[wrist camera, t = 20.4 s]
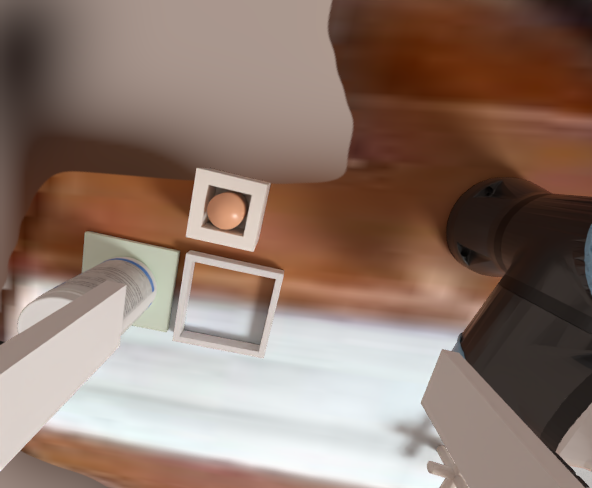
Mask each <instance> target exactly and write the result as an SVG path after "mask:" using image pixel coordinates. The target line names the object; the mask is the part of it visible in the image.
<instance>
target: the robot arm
mask: <svg viewBox="0 0 592 488" xmlns="http://www.w3.org/2000/svg"><path fill="white" fill-rule="evenodd" d="M446 234H447V242H448V246H449V248H450V251H451V253H452V254H453V256H454V257H455V258H456V260H457V261H458V262H459V263H461V264H462V265H463V266H465V267H467V268H469V269H470V270H472V271H474V272H476V273H479V274H482V275H486V276H494V277H503V278H502V279H501V280H500V282H499V283H498V284H497V286H496V287H495V289H494V290H493V292H492V293H491V294H490V296H489V297H488V298H487V300H486V301H485V303H484V304H483V305H482V307H481V308H480V310H479V311H478V312H477V314H476V315H475V317H474V318H473V319H472V321H471V322H470V323H469V325H468V326H467V328H466V329H465V330H464V332H463V333H461V334H460V335H459V336H458V340H457V343H456V345H455V346H454V348H453V350H452V351H448V350H443V349H442V351H441V353H440V356H439V358H438V361H437V363H436V366H435V368H434V371H433V373H432V376H431V378H430V381H429V383H428V386H427V388H426V391H425V393H424V396H423V398H422V401H421V404H422V406H423V408H424V409H425V411H426V413H427V415H428V417H429V418H430V420H431V422H432V424H433V425H434V427H435V429H436V431H437V432H438V434H439V436H440V438H441V439H442V441H443V443H444V445H445V446H446V448H447V450H448V452H449V453H450V455H451V457H452V459H453V460H454V462H455V464H456V466H457V467H458V469H459V471H460V473H461V474H462V476H463V478H464V480H465V481H466V483H467V485H468V487H469V488H590V487H589V486H588V485H587V484H586V483H585V482H584V481H583V480H582V479H581V478H580V477H579V476H576V474H575V473H576V472H575V471H574V470H573V469H572V468H571V467H570V466H574V467H580V468H584V469H587V470H589V471H592V197H587V196H574V195H562V194H552V193H550V192H549V191H547V190H545V189H543V188H541V187H540V186H538V185H536V184H534V183H532V182H530V181H527V180H524V179H520V178H507V177H499V178H492V179H488V180H485V181H482V182H480V183H478V184H476V185H474V186H473V187H471V188H470V189H469V190H467V191H466V192H465V193H464V194H463V195H462V196H461V197H460V198H459V200H458V201H457V202H456V204H455V205H454V207H453V209H452V211H451V213H450V216H449V219H448V223H447V232H446ZM126 287H127V285H126V284H122V283H117V282H112V281H107V280H106V281H105V282H103V283H101V284H100V285H98V286H97V287H95V288H93V289H92V290H90V291H88V292H87V293H85V294H83V295H82V296H80V297H78V298H77V299H75V300H74V301H72V302H70V303H69V304H67V305H65V306H64V307H62V308H60V309H59V310H57V311H56V312H54V313H52V314H51V315H49V316H47V317H46V318H44V319H42V320H41V321H39V322H37V323H36V324H34V325H33V326H31V327H29V328H28V329H26V330H24V331H23V332H21V333H19V334H18V335H16V336H14V337H13V338H11V339H10V340H8V341H6V342H2V341H0V471H1V470H2V469H3V468H4V467H5V466H6V465H7V464H8V463H9V462H10V460H12V459H13V457H14V456H15V455H16V454H17V453H18V452H19V451H20V450H21V449H22V448H23V447H24V446H25V445H26V444H27V443H28V442H29V441H30V440H31V439H32V438H33V437H34V435H35V434H36V433H37V432H38V431H39V430H40V429H41V428H42V427H43V426H44V425H45V424H46V423H47V422H48V421H49V420H50V419H51V418H52V417H53V416H54V415H55V413H56V412H57V411H58V410H59V409H60V408H61V407H62V406H63V405H64V404H65V403H66V402H67V401H68V400H69V399H70V398H71V397H72V396H73V395H74V394H75V393H76V391H77V390H78V389H79V388H80V387H81V386H82V385H83V384H84V383H85V382H86V381H87V380H88V379H89V378H90V377H91V376H92V375H93V374H94V373H95V372H96V371H97V369H98V368H99V367H100V366H101V365H102V364H103V363H104V362H105V361H106V360H107V359H108V358H109V357H110V356H111V355H112V354H113V353H114V352H115V351H116V350H117V349H118V347H119V346H120V340H121V331H122V322H123V313H124V304H125V295H126Z"/></svg>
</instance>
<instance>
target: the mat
mask: <svg viewBox="0 0 592 488" xmlns="http://www.w3.org/2000/svg"><path fill="white" fill-rule="evenodd" d="M114 257H130V258H133V259H136V260H138V261H140V262H142V263H143V264H144V265H146V266H147V267H148V268H149V269H150V271H151V272H152V274H153V276H154V278H155V281H156V285H157V293H156V297H155V299H154V301H153V303H152V304H151V305H150V306H149V307H148V308H147V310H146V311H145V312H144V313H143V314H142V315H141V316H140V317H139V318H138V319H137V320H136V321H135V322H134V323H133V324H132V325H131V326H137V327H142V328H147V329H152V330H157V331H162V332H167V331H168V328H169V322H170V315H171V309H172V302H173V296H174V289H175V283H176V276H177V270H178V263H179V257H180V251H178V250H174V249H169V248H164V247H160V246H155V245H151V244H146V243H141V242H137V241H132V240H128V239H123V238H118V237H114V236H109V235H105V234H100V233H95V232H91V231H87V232H85V237H84V250H83V264H82V273H83V272H85V271H87V270H89V269H91V268H93V267H95V266H96V265H98V264H100V263H102V262H104V261H106V260H108V259H111V258H114Z"/></svg>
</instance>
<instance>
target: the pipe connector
mask: <svg viewBox="0 0 592 488" xmlns="http://www.w3.org/2000/svg"><path fill="white" fill-rule="evenodd" d="M437 452H438V454H439V456H440V458H441V460H442V462H443V463H444V465H442V464H439V463H436V462H432V461H429V462H428V464H427V469H428V472H429V473H431V474H435V475H438V476H441V477H444V478H445V480H444V481H443V483H442V484H441V486H440V488H455V487H456V488H469V487H468V486H467V483H466V481H465V480H464V478H463V476H462V474H461V473H460V471H459V469H458V467H457V466H456V464H455V463H454V461H453V459H452V458H451V456H450V454H449V452H448V451H447V449H446V447H445V446H444V445H440V446H438V447H437Z"/></svg>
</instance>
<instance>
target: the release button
mask: <svg viewBox="0 0 592 488" xmlns="http://www.w3.org/2000/svg"><path fill="white" fill-rule="evenodd" d="M248 209H249V206H248V202H247V200H246V198H245V197H244V196H243V195H242V194H241V193H239V192H236V191H227V192H224V193H221V194H219V195H216V196H215V197H213V198H212V199H211V200H210V202H209V204H208V207H207V214H208V217H209V219H210V221H211V222H212V224H213V225H215V226H216V227H218V228H220V229H226V230H227V229H232V228H235V227H236V226H238V225H239V224H240V222H241V221H242V220H243V219H244V218H245V217H246V215H247V213H248Z"/></svg>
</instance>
